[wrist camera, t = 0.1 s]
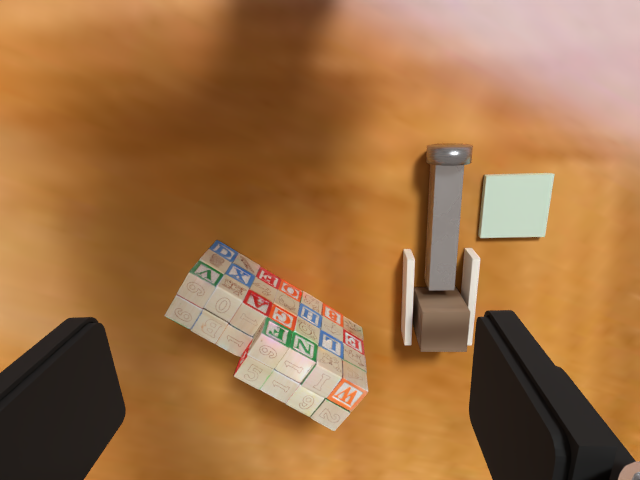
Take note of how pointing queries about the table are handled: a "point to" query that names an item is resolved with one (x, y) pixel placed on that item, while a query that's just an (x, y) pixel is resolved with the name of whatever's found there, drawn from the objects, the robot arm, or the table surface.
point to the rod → (444, 212)
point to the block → (440, 320)
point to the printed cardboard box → (275, 334)
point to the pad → (515, 205)
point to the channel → (467, 290)
